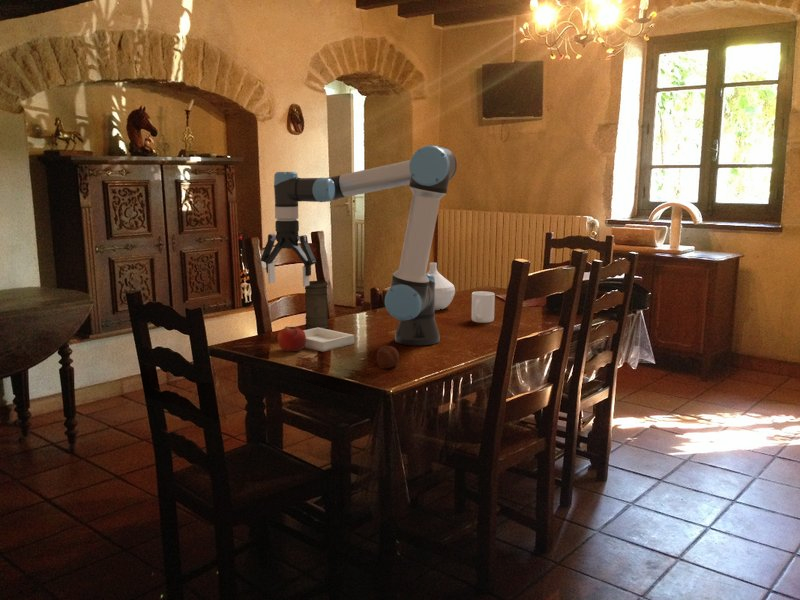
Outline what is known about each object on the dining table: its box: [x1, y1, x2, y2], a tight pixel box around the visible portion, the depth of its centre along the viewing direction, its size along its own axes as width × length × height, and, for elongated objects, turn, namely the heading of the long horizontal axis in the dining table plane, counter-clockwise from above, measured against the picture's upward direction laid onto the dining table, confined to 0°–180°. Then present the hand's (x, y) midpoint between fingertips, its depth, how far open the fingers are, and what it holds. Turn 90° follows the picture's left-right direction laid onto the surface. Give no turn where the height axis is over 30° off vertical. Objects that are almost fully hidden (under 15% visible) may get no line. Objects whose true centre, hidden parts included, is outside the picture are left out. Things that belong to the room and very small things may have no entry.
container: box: [304, 280, 331, 330], centre depth 250 cm, size 9×9×18 cm
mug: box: [471, 290, 496, 324], centre depth 268 cm, size 9×12×11 cm
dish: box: [303, 327, 355, 352], centre depth 234 cm, size 18×14×3 cm
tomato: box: [277, 326, 306, 352], centre depth 224 cm, size 9×9×8 cm
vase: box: [426, 262, 456, 311], centre depth 294 cm, size 18×18×19 cm
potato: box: [376, 344, 400, 369], centre depth 206 cm, size 7×9×6 cm
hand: (288, 284), depth 232 cm, fingers open, 13 cm apart
